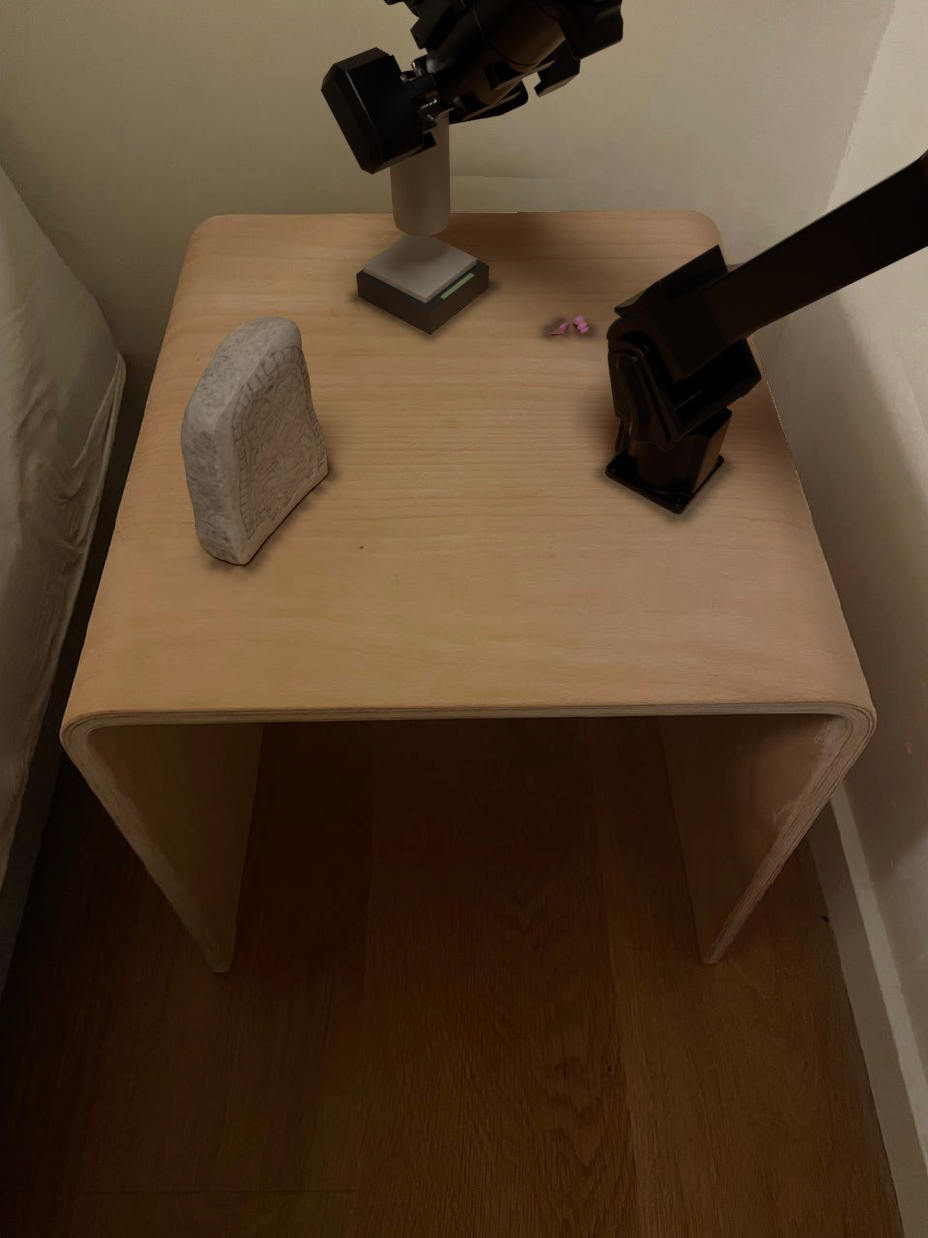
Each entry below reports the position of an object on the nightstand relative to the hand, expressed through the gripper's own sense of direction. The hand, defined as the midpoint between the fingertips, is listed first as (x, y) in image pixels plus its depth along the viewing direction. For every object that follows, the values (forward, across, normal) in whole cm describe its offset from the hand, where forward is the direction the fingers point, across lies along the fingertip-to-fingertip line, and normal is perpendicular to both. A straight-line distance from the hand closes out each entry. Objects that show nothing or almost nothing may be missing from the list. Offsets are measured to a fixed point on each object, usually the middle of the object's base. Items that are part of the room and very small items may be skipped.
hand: (407, 130), depth 67 cm
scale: (+9, 0, +10) cm, 13 cm away
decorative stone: (+1, +24, +18) cm, 31 cm away
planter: (+4, 0, +6) cm, 7 cm away
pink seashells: (+1, -6, +19) cm, 20 cm away
